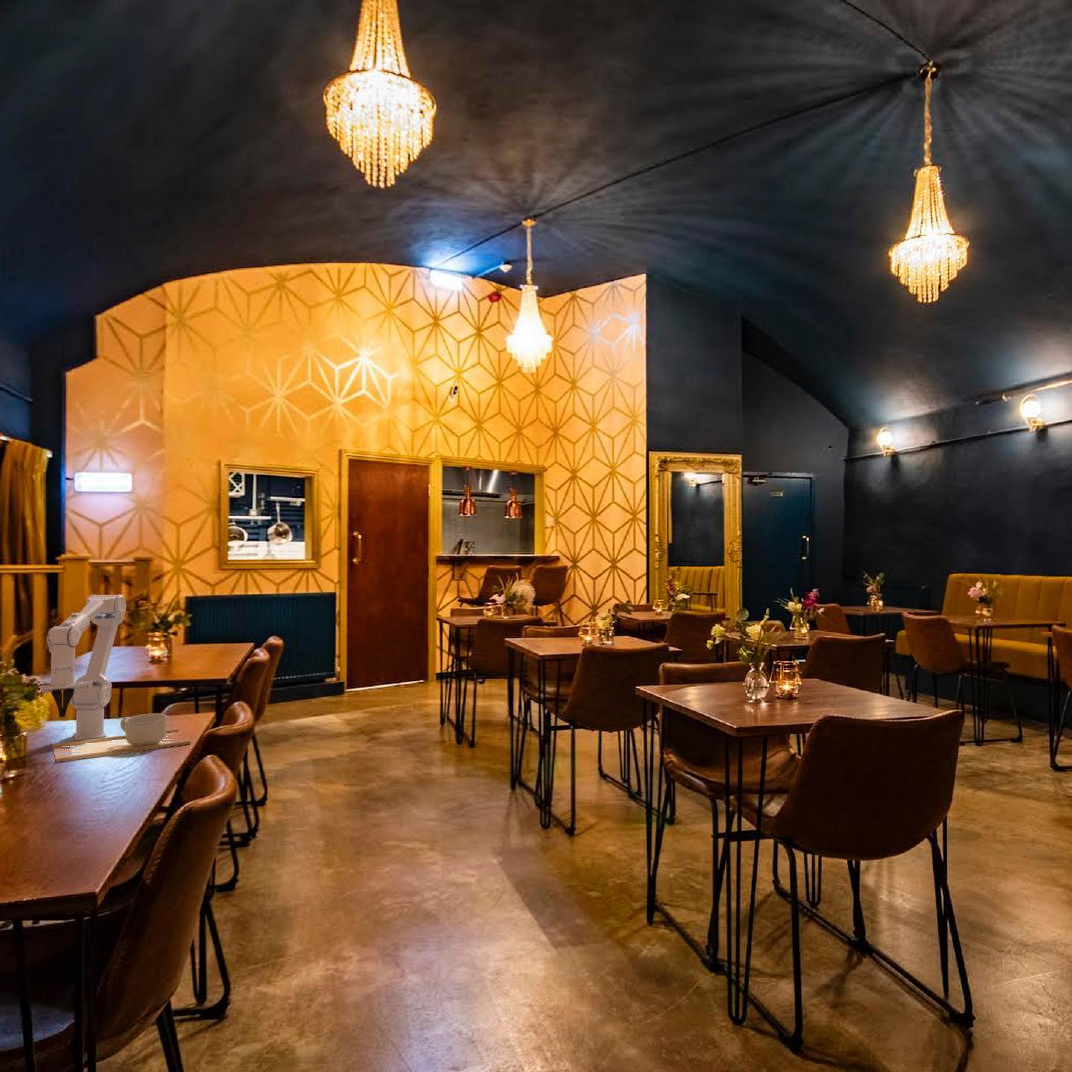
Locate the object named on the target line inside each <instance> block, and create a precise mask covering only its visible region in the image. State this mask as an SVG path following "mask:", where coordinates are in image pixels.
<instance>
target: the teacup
mask: <svg viewBox="0 0 1072 1072" xmlns="http://www.w3.org/2000/svg"><path fill="white" fill-rule="evenodd" d="M167 718H168V717H167V714H164V713H146V714H145V713H144V714H138V715H134V716H125V717H123V718H122V719H121V720H120V728H121V730H122V731H123V732H124V733H125V735H126V739H127V742H128V743H130V744H131V745H133V746H134V747H142V746H150V745H157V744H158V743H160V741H161V740H163V739H164V737H165V735H166V730H167Z"/></svg>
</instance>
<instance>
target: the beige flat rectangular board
mask: <svg viewBox="0 0 1072 1072" xmlns="http://www.w3.org/2000/svg"><path fill="white" fill-rule="evenodd" d="M171 732H180V731H179V728H174V729H173V728H171V729H166V733H171ZM166 735H172V734H166ZM173 735H174V734H173ZM166 737H168V736H166ZM112 740H125V741H115V742H114V741H112ZM163 740H174V739H163ZM186 740H187V739H186ZM85 743H94V744H85ZM108 743H128V742H127V739H126V734H124V735H116V736H108V737H107V736H106V737H102V738H94V739H86V740H78V741H76V740H75V741H67V742H61V743H60V742H59V743H52V746H51V747H53V748H52V752H53V751H54V752H85V753H54V752H53V755H75V756H54V759H55V763H56V762H57V763H61V762H60V761H64V762H71V761H76V760H75V759H79V760H82V759H81V758H86V759H92V758H99V757H100V756H101V757H106V756H105V755H108V756H115V755H114V754H116V755H121V754H120V753H123V754H127V753H126V752H130V753H135V752H136V753H137V751H138V752H143V750H145V751H150V750H149V749H152V750H158V748H160V749H165V748H164V747H167V748H170V747H169V746H174V747H179V746H178V745H182V746H186V745H185V744H189V745H191V740H190V739H189V740H187V741H180V742H169V741H168V742H162V741H160V744H157V745H150V746H142V747H134V746H133V745H131V744H130V743H128V744H108ZM161 743H162V744H161ZM163 743H165V744H163ZM62 746H69V747H62ZM70 746H75V747H70ZM76 746H81V747H76ZM82 746H84V747H82ZM85 746H86V747H85ZM87 746H90V747H87ZM91 746H92V747H91ZM94 746H95V747H94ZM101 746H103V747H101ZM105 746H107V747H105ZM108 746H109V747H108ZM111 746H112V747H111ZM53 749H64V750H53ZM65 749H66V750H65ZM67 749H72V750H67ZM73 749H74V750H73ZM75 749H81V750H75ZM82 749H83V750H82ZM89 749H90V750H89ZM91 749H92V750H91Z"/></svg>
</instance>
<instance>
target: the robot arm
mask: <svg viewBox="0 0 1072 1072" xmlns="http://www.w3.org/2000/svg"><path fill="white" fill-rule="evenodd" d="M126 609H127V602H126V598H125V596H124V595H123V594H100V595H99V594H90V595H89V596H88V597H87V598H86V602H85V606H84V607H83V609H81V610H80V612H71V614H70V616H69V617H67V619H65V620H64V621H63V622H62V623H61V624H60V625H59V626H58V625H57V626H53V627H52V628H50V629H49V630H48V632H47V636H46V643H47V646H48V652H49V653H50V654H51V655H50V658H51V659H50V683H48V684H47V683H46V684H42V685H41V684H40V685H38V686H39V688H40V690H41V692H42V693H41V694H43V693H51V696H52V698H53V700H54V701H55V704H56V707H57V711H58V718H65V717H66V714H67V710H68V707H69V704H71V706H72V707H73V709H74V710H76V711H75V712H76V714H75V715H76V717H75V718H76V719H75V720H76V721H75V725H76V726H75V727H76V728H75V729H76V731H75V733H73V734H72V736H73V738H74V740H75V741H76V740H78V741H82V740H91V739H99V738H107V734H106V732H105V731H104V726H105V725H104V723H105V722H104V721H105V720H104V719H105V707H107V705H108V704H109V703H110V701H111V698H112V688H113V687H112V686H113V684H112V682H111V681H110V679H108V678H107V677H106V672H107V667H108V664H109V661H110V656H111V653H112V648H113V645H114V642H115V638H116V634H117V630H118V627H119V625H120V624H122V623H123V620H124V618H125V613H126ZM90 622H92V624H94V625H96V626H98V629H97V633H96V637H95V640H94V644H93V647H92V651H91V654H90V658H89V660H88V666H87V668H86V673H85V674H84V675H82V676H80V677H79V678H77V679H75V675H76V674H75V671H76V670H75V669H76V668H75V667H76V663H75V662H76V661H75V660H76V646H77V645H79V642H80V638H81V637H82V634H83V633H84V632H85V631H86V630H88V628H89V627H90V626H91V625H90Z"/></svg>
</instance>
